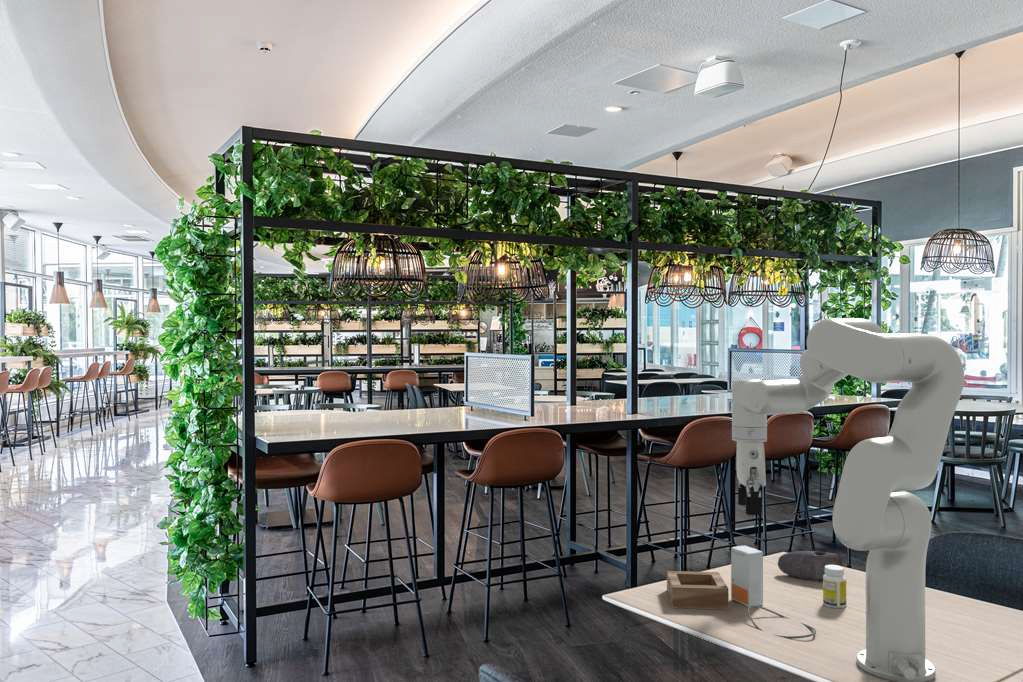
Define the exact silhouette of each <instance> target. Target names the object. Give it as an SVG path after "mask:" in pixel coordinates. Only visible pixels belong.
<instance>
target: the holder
mask: <svg viewBox="0 0 1023 682" xmlns="http://www.w3.org/2000/svg"><path fill="white" fill-rule="evenodd" d="M666 592H667V594H668V595H667V596H668V597H669V600H670V604H671V607H672V606H673V607H672V608H673V609H697V610H699V609H702V610H729V587H728V585H727V584H726V583H725V580H724V579H723V577H722V575H721V574H720V572H717V571H685V570H684V571H683V570H666Z"/></svg>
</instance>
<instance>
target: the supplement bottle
mask: <svg viewBox="0 0 1023 682" xmlns="http://www.w3.org/2000/svg"><path fill="white" fill-rule="evenodd" d="M825 573H826V574H824V575H823V580H822V603H823V604H824V605H825V606H826V607H829V608H833V609H844V608H845V607H847V578H846V576H845V568H844V567H843V566H838V565H826V566H825Z"/></svg>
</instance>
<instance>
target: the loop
mask: <svg viewBox="0 0 1023 682" xmlns="http://www.w3.org/2000/svg"><path fill="white" fill-rule="evenodd" d="M751 608H758V609H761V610H764V611H766V612H769V613H772V614H774V615H777V616H779V617H781V618H784V617H785V619H789V620H791V618H790V617H788V616H785V615H783V614H780V613H778V612H776V611H774V610H771V609H768V608H766V607H763V606H762V605H760V606H757V605H751V606H749V607H747V615H748V618H749V620H750V622H751V623H752V624H753V626H754V627H755V628H756V629H757V630H759V631H762V632H764V630H763V629H762V628H760V627H759V626H758V625H757V624H756V623H755V620H753V618H752V616H751V613H750V609H751ZM800 624H802V625H803V626H805V628H806V627H807V628H809V629H810V630H812V631H813V632H812V633H808V634H806V635H804V634H803V635H797V636H795V635H792V636H789V635H779V634H773V633H772V635H774V636H777V637H780V638H784V639H802V638H803V639H804V638H808V637H813V636H815V635H816V633H817V630H816V628H814V627H812V626H811V625H808V624H805V623H803V622H800Z"/></svg>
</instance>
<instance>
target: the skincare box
mask: <svg viewBox="0 0 1023 682" xmlns="http://www.w3.org/2000/svg"><path fill="white" fill-rule="evenodd" d="M730 553H731V554H730V555H731V556H730V557H731V558H730V559H731V560H730V561H731V562H730V565H731V566H730V569H731V570H730V579H731V580H730V582H731V583H730V589H731V590H730V598H731V600H733V601H735V602H737V603H738V604H741V605H743V606H745V607H747V608H748V607H749V606H751V605H757V606H763V605H764V552H763V551H762V550H759V549H757V548H754V547H750V546H748V545H738V546H733V547H731V548H730Z"/></svg>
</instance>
